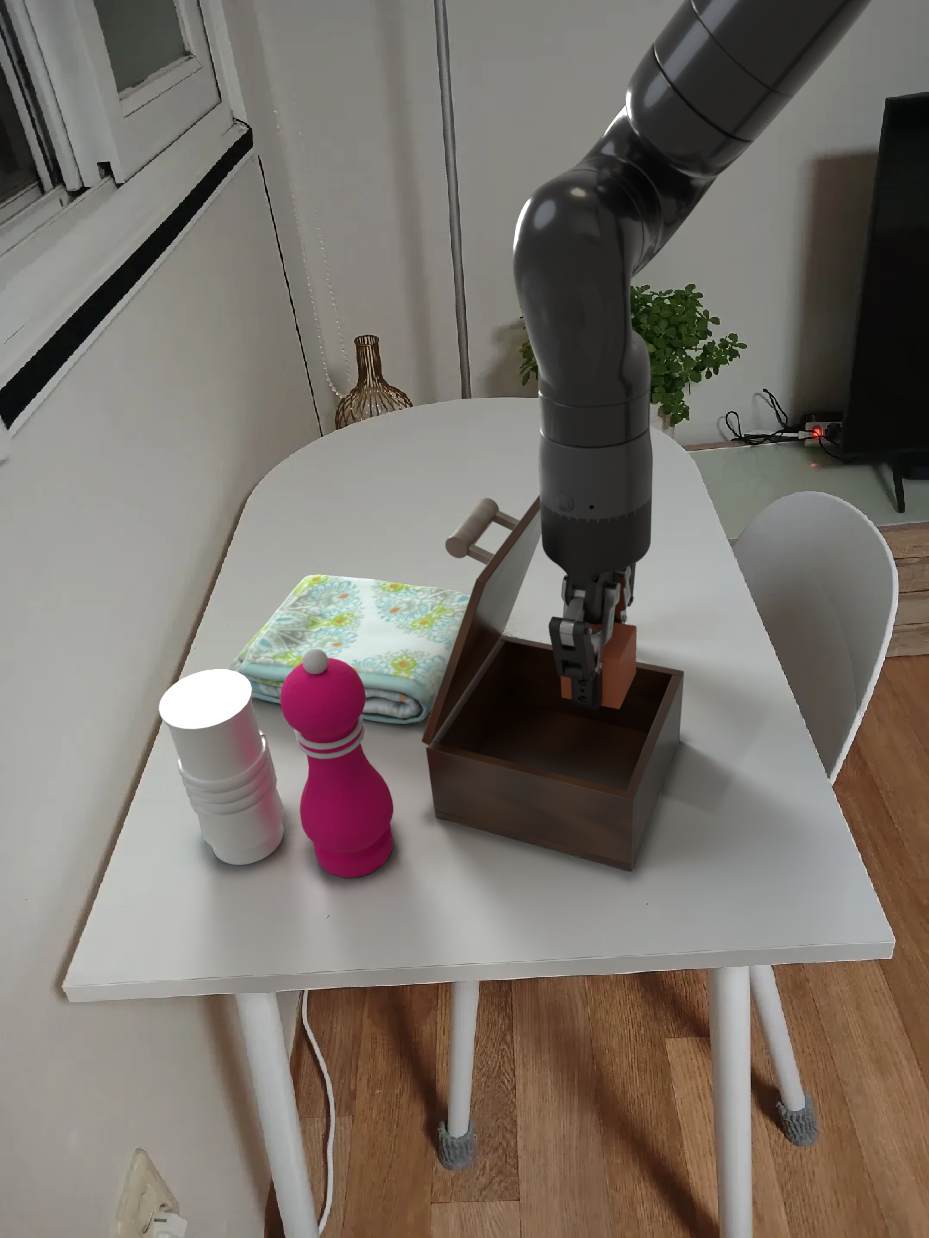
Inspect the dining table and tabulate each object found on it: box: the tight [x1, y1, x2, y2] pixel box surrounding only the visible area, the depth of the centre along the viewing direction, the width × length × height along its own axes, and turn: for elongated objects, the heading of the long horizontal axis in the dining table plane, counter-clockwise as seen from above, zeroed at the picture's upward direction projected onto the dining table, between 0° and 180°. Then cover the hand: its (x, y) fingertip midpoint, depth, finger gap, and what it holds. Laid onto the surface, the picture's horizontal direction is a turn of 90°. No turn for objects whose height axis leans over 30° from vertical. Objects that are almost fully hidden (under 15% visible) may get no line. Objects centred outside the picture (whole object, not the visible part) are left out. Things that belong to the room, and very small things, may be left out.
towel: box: [229, 574, 471, 725], centre depth 95 cm, size 18×21×5 cm
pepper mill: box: [280, 649, 394, 878], centre depth 71 cm, size 7×7×20 cm
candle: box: [158, 668, 285, 866], centre depth 74 cm, size 7×7×15 cm
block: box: [561, 622, 637, 709], centre depth 72 cm, size 5×5×5 cm
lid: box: [421, 494, 542, 746], centre depth 74 cm, size 17×16×5 cm
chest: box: [425, 634, 685, 872], centre depth 79 cm, size 17×16×8 cm
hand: (597, 683), depth 74 cm, fingers closed on block, 4 cm apart
